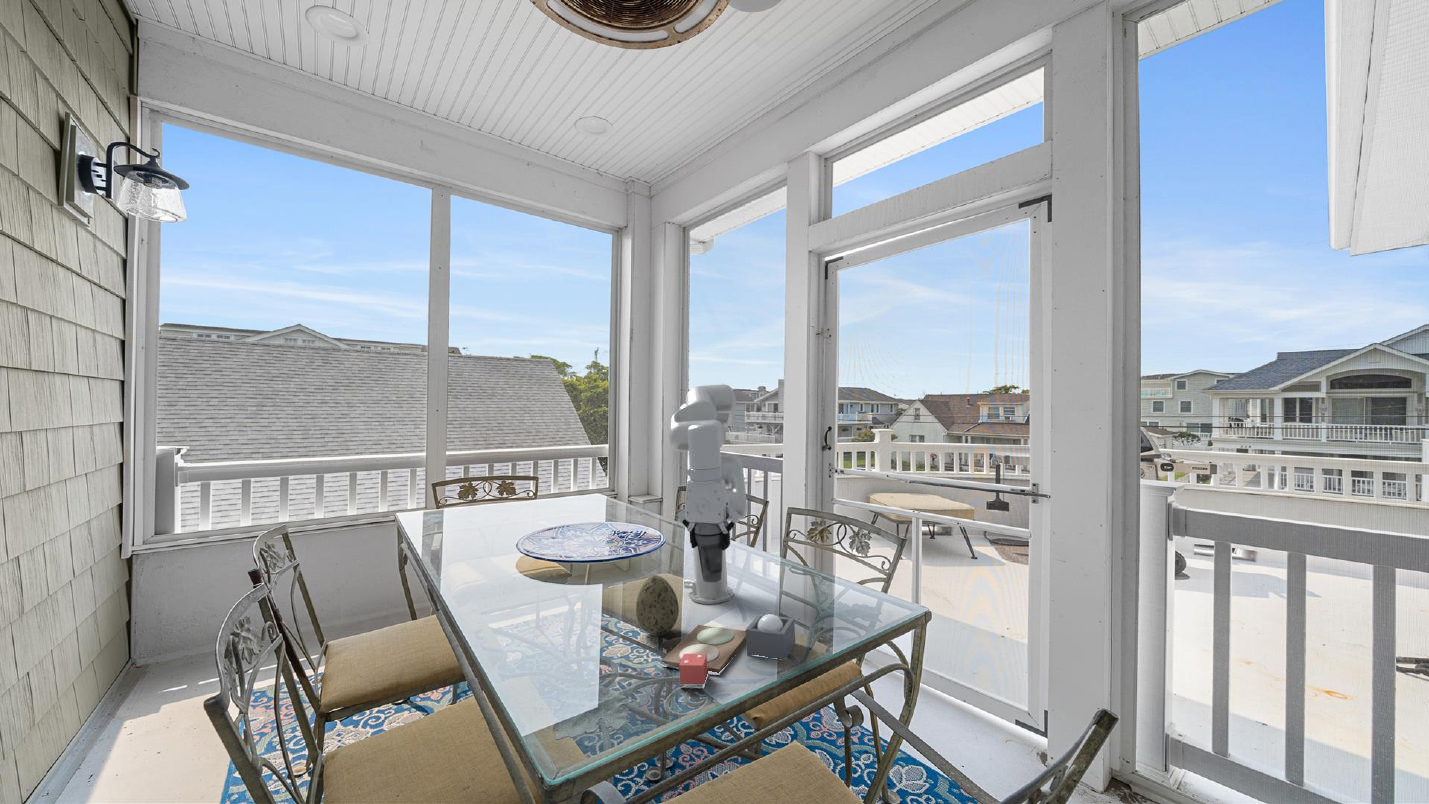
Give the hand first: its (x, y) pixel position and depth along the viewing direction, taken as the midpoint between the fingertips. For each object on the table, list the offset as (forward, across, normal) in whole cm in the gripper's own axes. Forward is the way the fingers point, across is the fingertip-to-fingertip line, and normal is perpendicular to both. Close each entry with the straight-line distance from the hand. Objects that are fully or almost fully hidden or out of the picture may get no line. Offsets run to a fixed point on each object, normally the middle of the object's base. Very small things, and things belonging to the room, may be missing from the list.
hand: (710, 547), depth 140 cm
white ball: (+21, +14, 0) cm, 26 cm away
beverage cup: (+8, 0, 0) cm, 8 cm away
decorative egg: (+24, -16, 0) cm, 29 cm away
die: (+23, +3, -19) cm, 30 cm away
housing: (+23, +14, 0) cm, 27 cm away
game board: (+23, 0, -5) cm, 24 cm away
